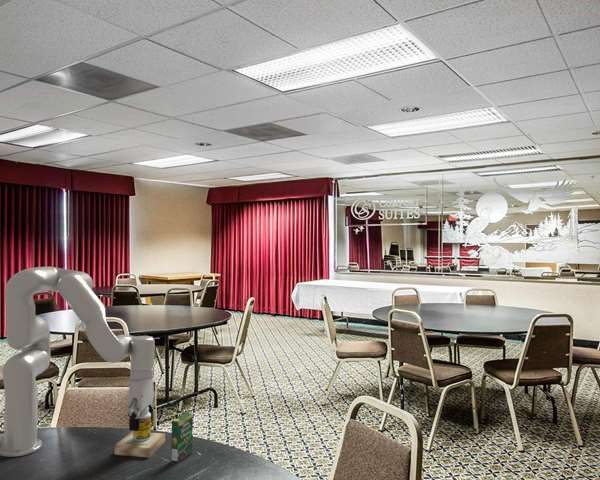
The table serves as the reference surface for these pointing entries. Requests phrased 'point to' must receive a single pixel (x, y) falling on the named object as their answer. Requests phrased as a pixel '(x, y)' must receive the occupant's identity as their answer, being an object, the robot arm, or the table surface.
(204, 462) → the table surface
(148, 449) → the base
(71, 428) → the table surface
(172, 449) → the coffee box
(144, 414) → the supplement bottle
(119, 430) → the table surface
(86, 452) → the table surface
